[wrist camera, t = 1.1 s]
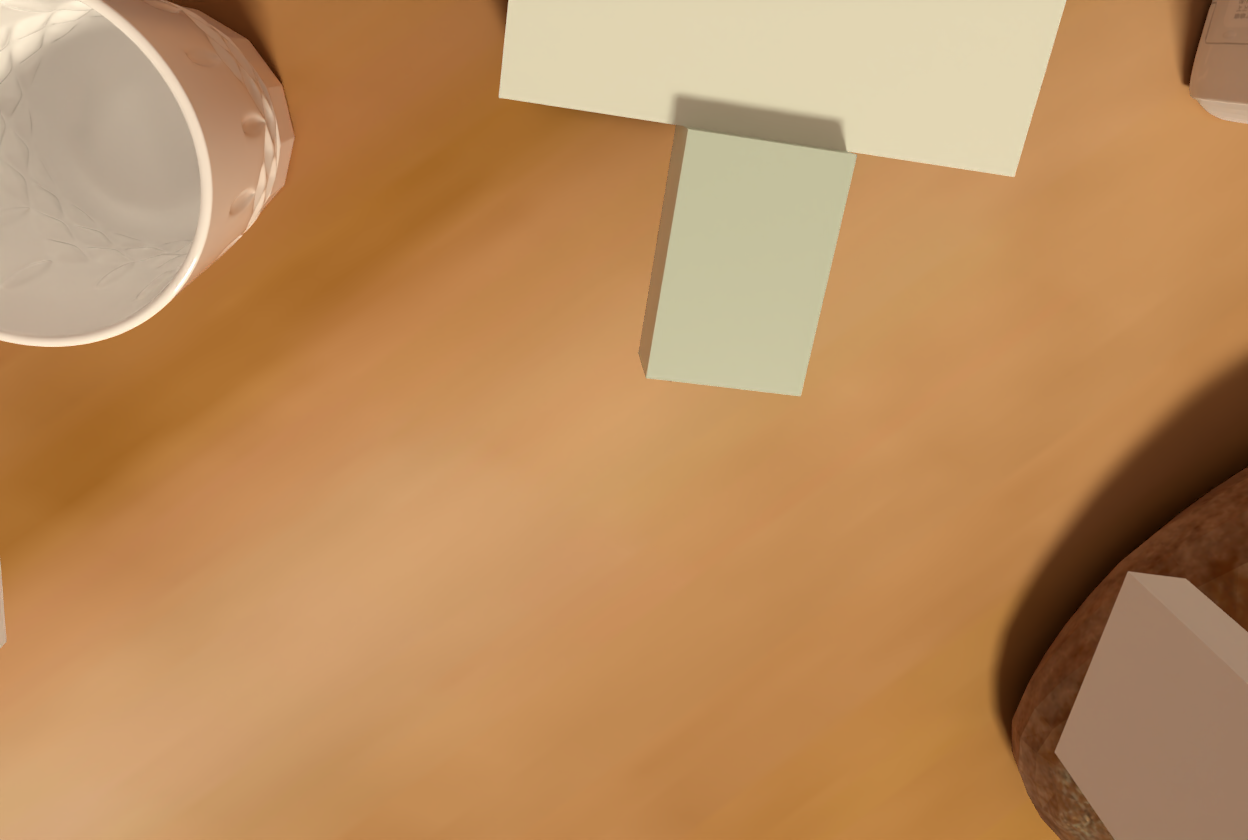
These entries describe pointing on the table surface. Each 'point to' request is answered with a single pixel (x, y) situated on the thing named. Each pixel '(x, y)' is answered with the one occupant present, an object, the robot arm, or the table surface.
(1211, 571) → the bread
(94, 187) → the white cup
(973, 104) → the lid
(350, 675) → the table surface
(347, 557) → the table surface
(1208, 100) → the photo printer
